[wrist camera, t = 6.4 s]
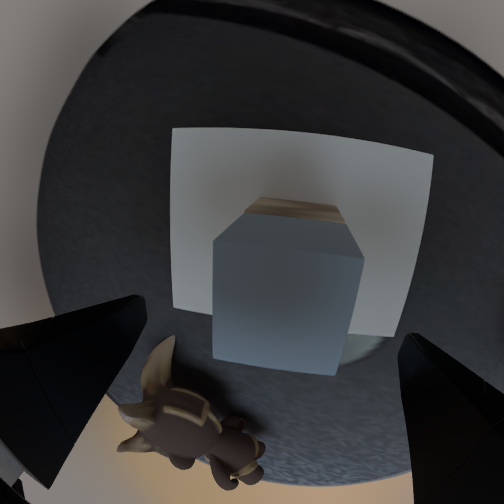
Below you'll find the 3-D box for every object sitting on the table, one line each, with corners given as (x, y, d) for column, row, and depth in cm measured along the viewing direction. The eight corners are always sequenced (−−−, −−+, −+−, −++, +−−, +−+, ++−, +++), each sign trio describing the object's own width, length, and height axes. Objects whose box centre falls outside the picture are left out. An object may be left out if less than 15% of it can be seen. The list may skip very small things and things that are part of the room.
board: (431, 155, 16) (433, 155, 16) (392, 334, 21) (393, 337, 20) (175, 128, 19) (172, 128, 18) (175, 305, 23) (173, 307, 23)
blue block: (346, 223, 13) (364, 258, 9) (330, 313, 15) (335, 375, 10) (244, 212, 14) (213, 240, 10) (239, 302, 16) (212, 358, 11)
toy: (230, 439, 30) (129, 366, 27) (281, 414, 27) (171, 329, 25) (216, 512, 19) (83, 439, 17) (279, 500, 17) (122, 415, 15)
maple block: (336, 205, 18) (345, 222, 13) (325, 276, 20) (329, 312, 15) (260, 196, 19) (244, 210, 14) (255, 267, 21) (239, 300, 16)
